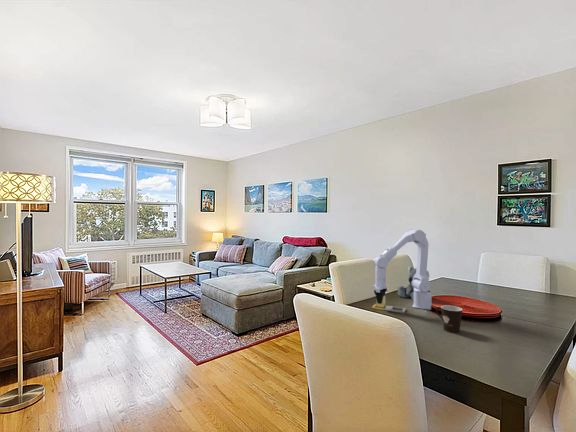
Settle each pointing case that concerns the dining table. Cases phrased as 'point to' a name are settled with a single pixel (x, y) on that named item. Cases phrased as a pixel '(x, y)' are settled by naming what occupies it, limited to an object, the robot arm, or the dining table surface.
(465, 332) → the dining table surface
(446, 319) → the coffee mug
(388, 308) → the rail
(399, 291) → the koala plush
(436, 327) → the dining table surface
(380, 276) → the robot arm
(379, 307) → the brass block
